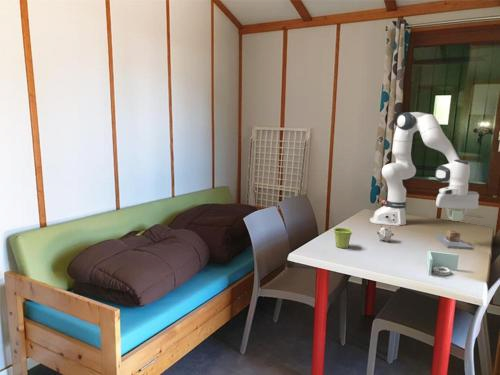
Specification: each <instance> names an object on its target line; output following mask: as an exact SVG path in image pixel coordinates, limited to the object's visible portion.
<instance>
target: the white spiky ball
mask: <svg viewBox="0 0 500 375" xmlns="http://www.w3.org/2000/svg"><path fill="white" fill-rule="evenodd" d="M391 228H392V227H391V226H390V227H386V226H385V227H383V226H382V225H380V229H379V231H377V233H376V234H377V235H378V237H379V242H381V241H386V242H389V243H390V242H391V238H392V236H394V235H395V234H394V233H393V232H392V229H391Z"/></svg>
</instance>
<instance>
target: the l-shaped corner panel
mask: <svg viewBox="0 0 500 375" xmlns="http://www.w3.org/2000/svg"><path fill="white" fill-rule="evenodd" d="M426 255H427V257H426V269H427V273H428V276H430V277H431V276H432V271H434V272H433V273H434V274H436V273H437V274H436V275H439V276H444V277H446V276H450V275H451V274H452V271H454V272H455V271H458V264H459V257H460V256H459V255H460V254H458V253H449V252H442V251H434V250H433V251H432V250H427V254H426Z"/></svg>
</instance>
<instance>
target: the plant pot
mask: <svg viewBox="0 0 500 375" xmlns="http://www.w3.org/2000/svg"><path fill="white" fill-rule="evenodd" d="M333 232H334V238H335V246H336V248H339V249H342V248H343V249H348V248H349V244H350V239H351V236H352V233H353V230H352V229H349V228H345V227H336V228H335V227H334V228H333Z"/></svg>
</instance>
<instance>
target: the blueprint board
mask: <svg viewBox="0 0 500 375" xmlns="http://www.w3.org/2000/svg"><path fill="white" fill-rule="evenodd" d="M434 238H435V239H436V240H438V241H439V242H440V243H441V244H442V245H443V246H445V248H447V249H454V250H455V249H459V250H471V251H472V250H473V246H472V245H471V244H469V243H467V242H466V241H465V240H463V239H461V238H460V242H449V241H448V240H447V239H446V235H441V234H439V235H437V234H435V235H434Z"/></svg>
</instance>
